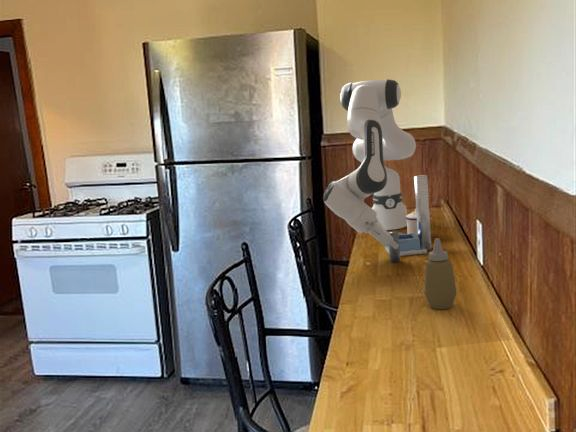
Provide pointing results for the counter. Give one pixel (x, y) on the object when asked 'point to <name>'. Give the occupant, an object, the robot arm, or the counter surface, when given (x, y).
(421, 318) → the counter surface
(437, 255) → the squeeze bottle
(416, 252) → the box with upright lever
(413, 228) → the teacup with lid
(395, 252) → the dark grey rounded rod
